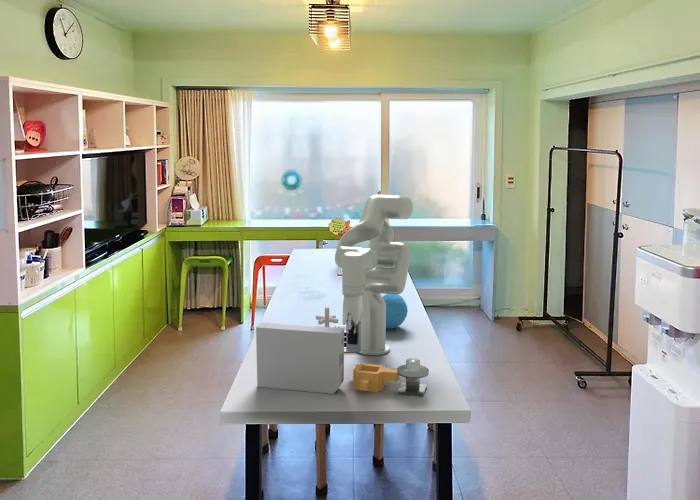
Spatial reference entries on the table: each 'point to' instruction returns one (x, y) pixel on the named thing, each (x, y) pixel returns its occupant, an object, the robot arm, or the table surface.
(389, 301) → the blue ball
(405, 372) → the grey disc with stub
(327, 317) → the pipe connector
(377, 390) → the bracket head
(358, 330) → the rectangular block
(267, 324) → the game console
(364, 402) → the table surface
